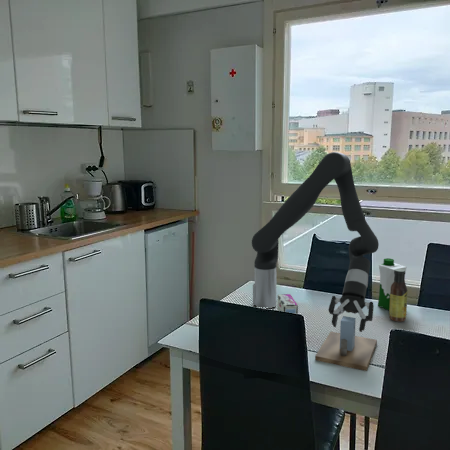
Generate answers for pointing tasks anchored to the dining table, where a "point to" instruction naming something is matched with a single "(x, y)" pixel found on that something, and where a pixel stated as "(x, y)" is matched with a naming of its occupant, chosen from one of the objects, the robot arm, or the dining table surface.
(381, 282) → the milk carton
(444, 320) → the dining table surface
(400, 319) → the sauce bottle
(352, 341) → the block
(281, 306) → the candy bar box
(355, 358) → the wooden peg board
